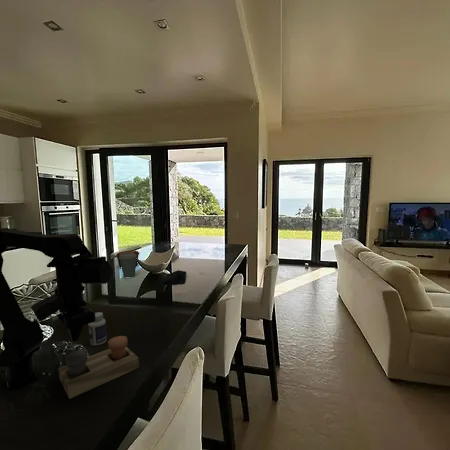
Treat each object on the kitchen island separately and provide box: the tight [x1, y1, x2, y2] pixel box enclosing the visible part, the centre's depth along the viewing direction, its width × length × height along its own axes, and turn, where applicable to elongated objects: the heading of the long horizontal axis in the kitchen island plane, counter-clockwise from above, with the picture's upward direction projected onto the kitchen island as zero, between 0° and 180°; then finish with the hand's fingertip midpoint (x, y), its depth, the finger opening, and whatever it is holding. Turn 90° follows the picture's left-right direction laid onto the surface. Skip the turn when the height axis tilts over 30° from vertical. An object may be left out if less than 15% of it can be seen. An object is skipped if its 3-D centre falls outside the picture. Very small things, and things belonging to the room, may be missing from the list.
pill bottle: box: [87, 311, 108, 346], centre depth 95 cm, size 5×5×10 cm
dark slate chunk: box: [158, 269, 187, 286], centre depth 167 cm, size 15×22×5 cm
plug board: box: [57, 346, 140, 400], centre depth 78 cm, size 11×18×3 cm, turn 132°
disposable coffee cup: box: [119, 253, 137, 278], centre depth 175 cm, size 11×11×15 cm
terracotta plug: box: [107, 335, 128, 359], centre depth 81 cm, size 5×5×5 cm
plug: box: [64, 349, 89, 377], centre depth 74 cm, size 5×5×5 cm
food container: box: [115, 250, 140, 268], centre depth 202 cm, size 16×16×11 cm
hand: (74, 340), depth 73 cm, fingers closed
